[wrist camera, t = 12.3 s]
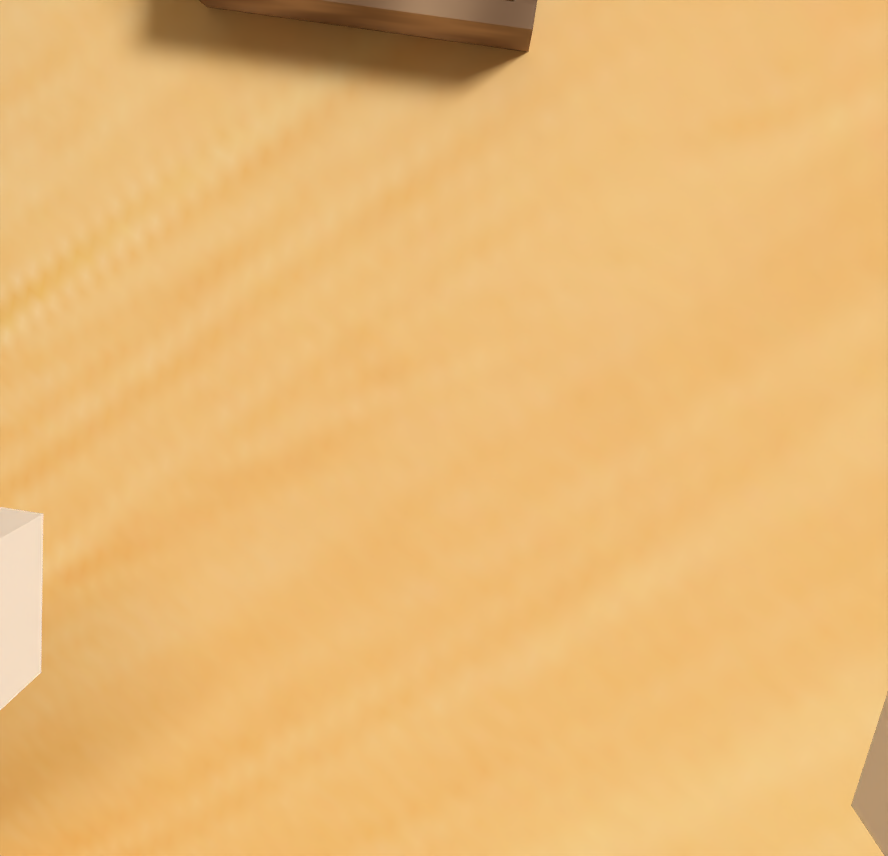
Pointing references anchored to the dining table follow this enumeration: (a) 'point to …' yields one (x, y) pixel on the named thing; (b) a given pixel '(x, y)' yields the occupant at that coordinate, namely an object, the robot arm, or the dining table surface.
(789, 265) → the dining table surface
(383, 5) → the brown wooden tray
